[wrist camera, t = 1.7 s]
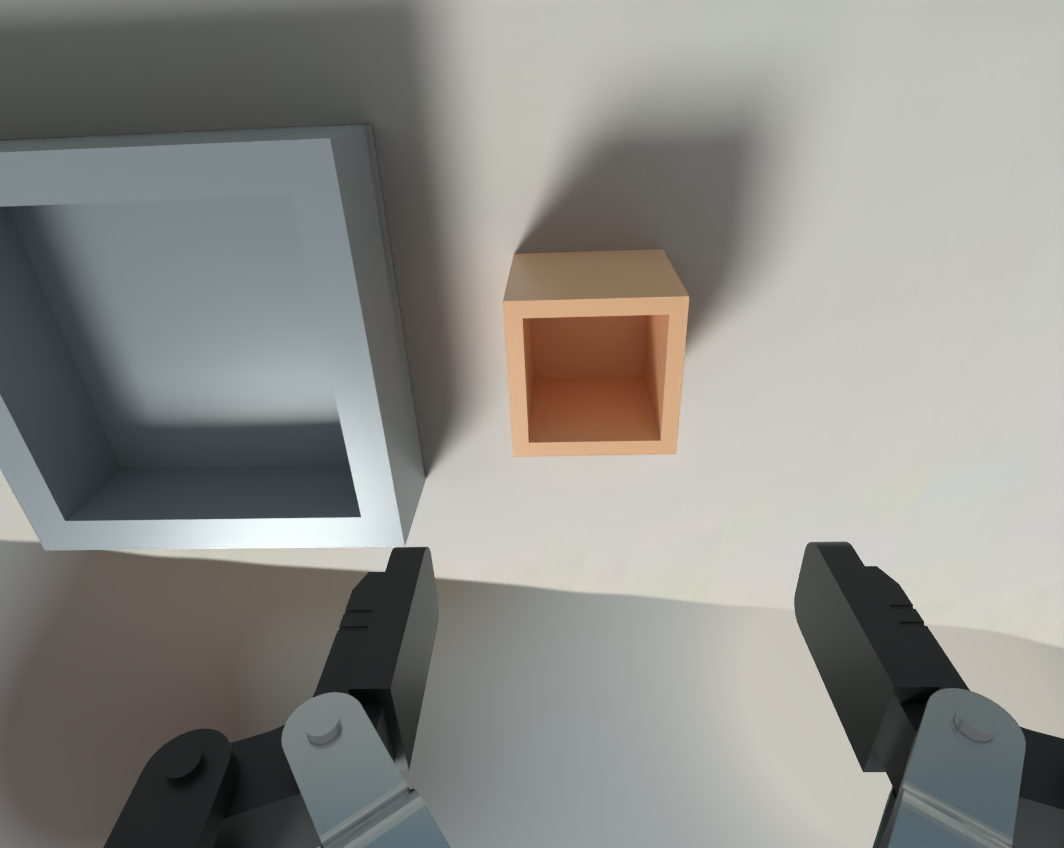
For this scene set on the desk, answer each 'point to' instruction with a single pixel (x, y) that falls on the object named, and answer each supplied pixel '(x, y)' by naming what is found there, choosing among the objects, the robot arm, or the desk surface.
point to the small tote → (595, 352)
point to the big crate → (204, 342)
